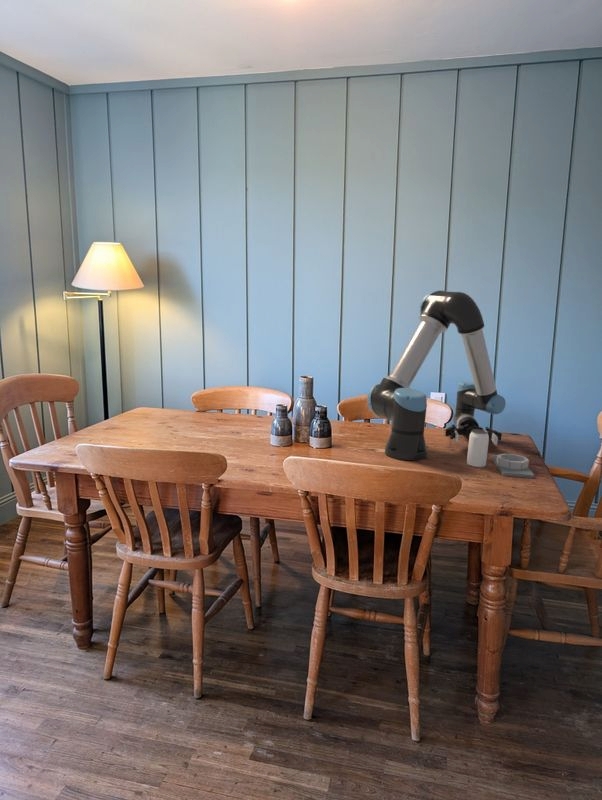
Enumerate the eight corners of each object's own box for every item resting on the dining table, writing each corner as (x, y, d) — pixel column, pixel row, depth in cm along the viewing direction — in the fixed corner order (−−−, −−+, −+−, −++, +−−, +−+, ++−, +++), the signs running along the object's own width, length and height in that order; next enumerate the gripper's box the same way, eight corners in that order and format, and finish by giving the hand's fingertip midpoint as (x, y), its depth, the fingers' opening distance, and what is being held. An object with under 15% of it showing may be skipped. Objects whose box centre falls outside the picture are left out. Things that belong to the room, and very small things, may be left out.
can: (472, 468, 201) (476, 434, 198) (463, 462, 207) (466, 429, 204) (489, 467, 202) (493, 433, 200) (479, 461, 209) (482, 428, 206)
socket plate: (502, 475, 194) (503, 465, 193) (491, 457, 214) (492, 448, 213) (534, 478, 193) (535, 468, 192) (520, 460, 212) (521, 450, 212)
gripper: (499, 437, 231) (511, 452, 210) (434, 432, 233) (440, 447, 213) (501, 418, 229) (514, 432, 208) (436, 414, 232) (442, 427, 211)
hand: (476, 440), depth 211 cm, fingers open, 13 cm apart
